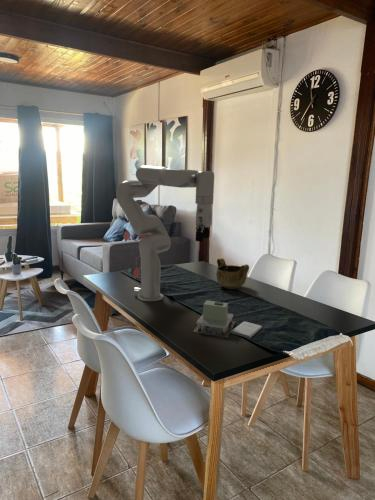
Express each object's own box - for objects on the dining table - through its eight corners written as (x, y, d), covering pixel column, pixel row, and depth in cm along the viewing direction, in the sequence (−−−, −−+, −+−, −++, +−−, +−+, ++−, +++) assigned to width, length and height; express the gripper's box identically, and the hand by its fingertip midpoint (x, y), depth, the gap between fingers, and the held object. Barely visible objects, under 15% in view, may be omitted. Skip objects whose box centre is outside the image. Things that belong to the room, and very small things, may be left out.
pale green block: (202, 318, 149) (203, 302, 148) (206, 314, 154) (206, 299, 152) (224, 321, 146) (225, 305, 145) (227, 317, 151) (228, 301, 150)
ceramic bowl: (256, 290, 202) (258, 263, 199) (233, 295, 191) (235, 267, 189) (228, 280, 219) (229, 255, 216) (206, 285, 209) (207, 259, 206)
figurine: (120, 278, 218) (121, 219, 210) (159, 273, 231) (161, 217, 224) (131, 285, 205) (131, 222, 198) (171, 279, 219) (173, 221, 211)
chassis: (192, 332, 145) (193, 322, 144) (203, 317, 160) (204, 309, 159) (227, 337, 141) (228, 327, 140) (235, 322, 156) (236, 313, 155)
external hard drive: (230, 334, 145) (243, 324, 156) (249, 339, 141) (261, 329, 151) (230, 330, 145) (243, 320, 155) (249, 335, 141) (262, 325, 151)
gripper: (207, 202, 149) (205, 243, 153) (217, 199, 165) (215, 237, 169) (189, 201, 152) (188, 242, 155) (201, 198, 168) (199, 236, 171)
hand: (202, 239), depth 162 cm, fingers open, 9 cm apart
